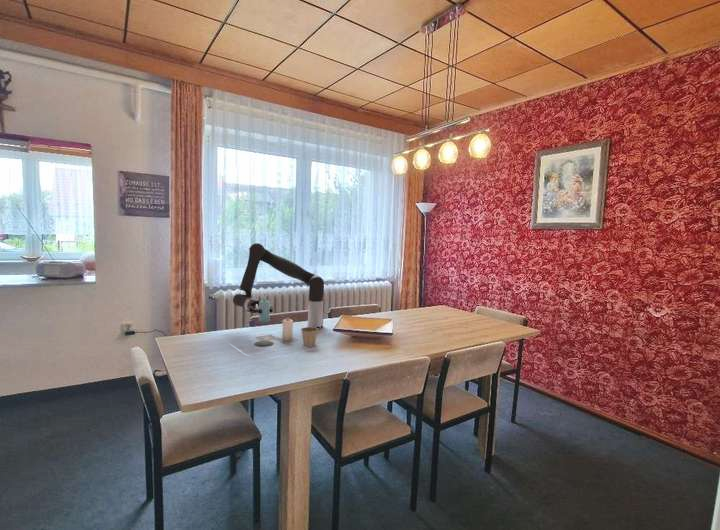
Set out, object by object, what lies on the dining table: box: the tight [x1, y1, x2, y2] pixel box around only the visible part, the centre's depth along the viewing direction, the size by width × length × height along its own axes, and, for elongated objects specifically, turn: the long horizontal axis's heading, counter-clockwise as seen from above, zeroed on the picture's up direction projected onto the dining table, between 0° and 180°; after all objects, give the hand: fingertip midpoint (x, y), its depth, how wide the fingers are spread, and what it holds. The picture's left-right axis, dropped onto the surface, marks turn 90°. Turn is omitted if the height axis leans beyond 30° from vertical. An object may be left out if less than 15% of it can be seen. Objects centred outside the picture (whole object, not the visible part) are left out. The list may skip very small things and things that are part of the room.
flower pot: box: [300, 326, 319, 347], centre depth 190 cm, size 9×9×9 cm
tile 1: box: [254, 334, 278, 341], centre depth 197 cm, size 10×10×1 cm
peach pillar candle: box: [281, 317, 294, 341], centre depth 195 cm, size 6×6×12 cm
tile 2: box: [275, 336, 300, 344], centre depth 196 cm, size 10×10×1 cm
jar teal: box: [258, 298, 271, 323], centre depth 189 cm, size 6×6×12 cm
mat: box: [253, 340, 275, 348], centre depth 186 cm, size 10×10×1 cm
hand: (266, 311), depth 187 cm, fingers closed on jar teal, 5 cm apart
